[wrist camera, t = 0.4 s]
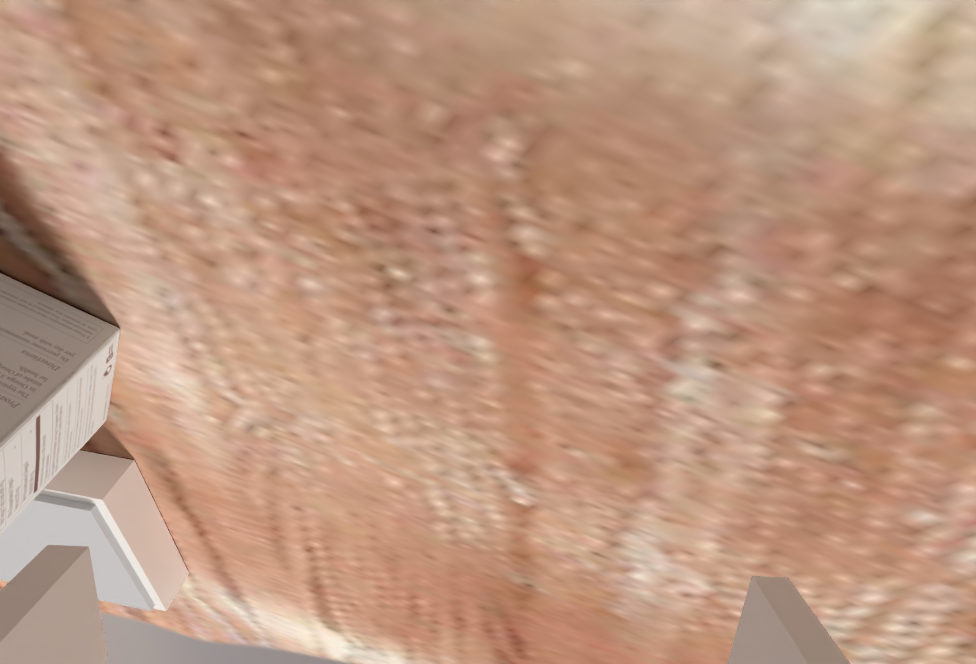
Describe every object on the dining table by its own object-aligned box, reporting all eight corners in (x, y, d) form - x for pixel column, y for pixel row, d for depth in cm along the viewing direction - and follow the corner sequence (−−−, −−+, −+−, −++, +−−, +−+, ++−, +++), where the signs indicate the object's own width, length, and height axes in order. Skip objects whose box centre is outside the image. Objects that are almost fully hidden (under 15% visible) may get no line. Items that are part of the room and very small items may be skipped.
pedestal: (-65, 423, 33) (-116, 465, 30) (134, 460, 32) (96, 506, 29) (26, 540, 40) (-10, 581, 38) (189, 573, 39) (162, 617, 37)
